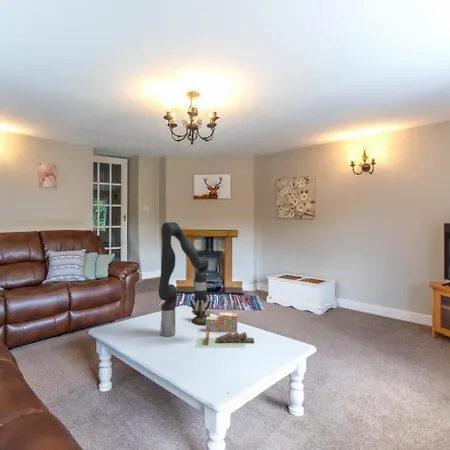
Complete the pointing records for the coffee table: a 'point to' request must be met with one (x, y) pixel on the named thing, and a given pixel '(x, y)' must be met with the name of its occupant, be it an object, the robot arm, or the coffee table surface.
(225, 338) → the domino
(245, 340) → the domino
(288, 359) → the coffee table surface
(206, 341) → the domino
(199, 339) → the mat
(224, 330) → the stack of blocks
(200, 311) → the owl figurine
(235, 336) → the domino
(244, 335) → the domino
